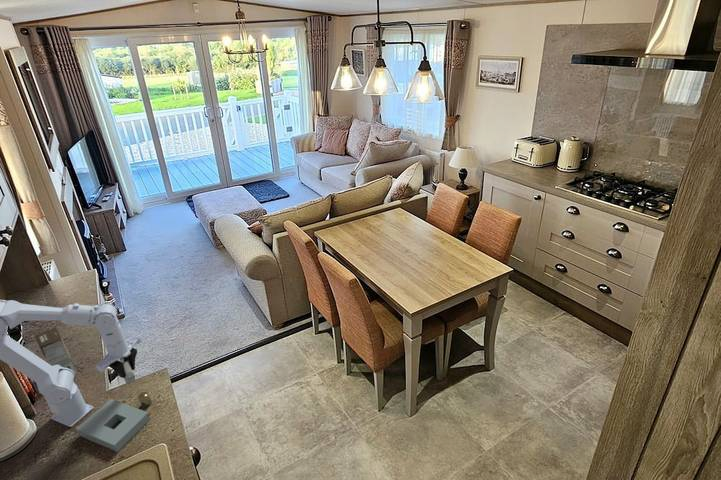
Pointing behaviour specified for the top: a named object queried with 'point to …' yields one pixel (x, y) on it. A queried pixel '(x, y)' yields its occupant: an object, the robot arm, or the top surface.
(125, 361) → the long pin
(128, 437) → the hole plate
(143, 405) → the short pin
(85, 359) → the top surface
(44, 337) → the coffee box
